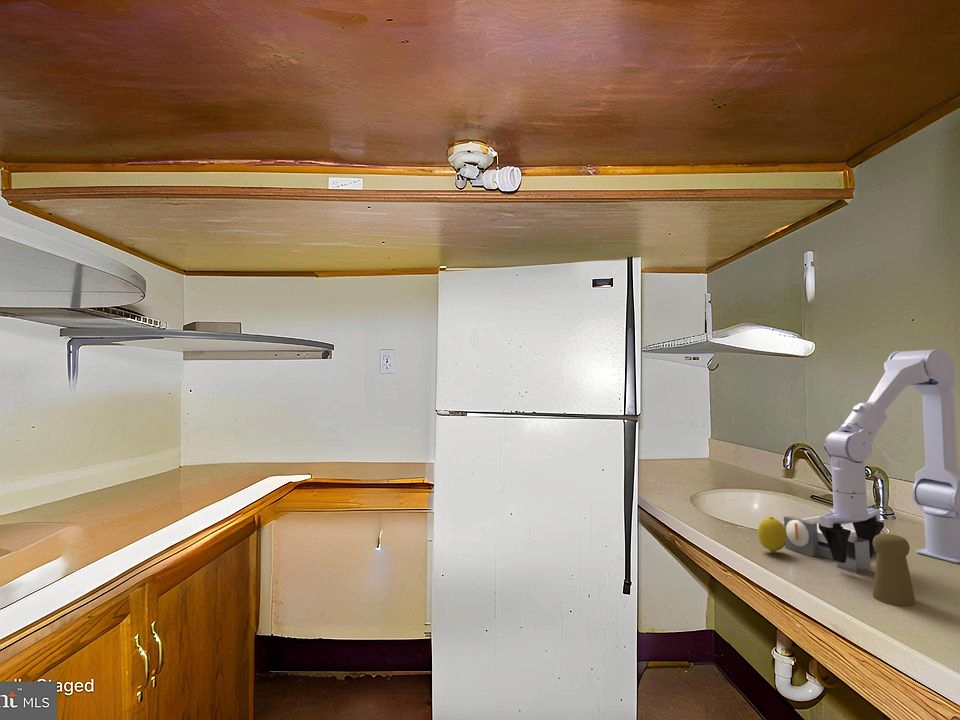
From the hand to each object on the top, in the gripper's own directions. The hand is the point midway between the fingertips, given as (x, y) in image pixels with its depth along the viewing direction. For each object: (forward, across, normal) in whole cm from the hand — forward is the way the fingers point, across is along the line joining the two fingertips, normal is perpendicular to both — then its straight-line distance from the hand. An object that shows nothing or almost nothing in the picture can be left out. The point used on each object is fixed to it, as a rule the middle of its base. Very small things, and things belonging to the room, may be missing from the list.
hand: (852, 558), depth 111 cm
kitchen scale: (+2, -7, -12) cm, 14 cm away
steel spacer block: (+2, 0, 0) cm, 2 cm away
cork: (+2, +8, +13) cm, 15 cm away
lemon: (+2, +6, -14) cm, 15 cm away
